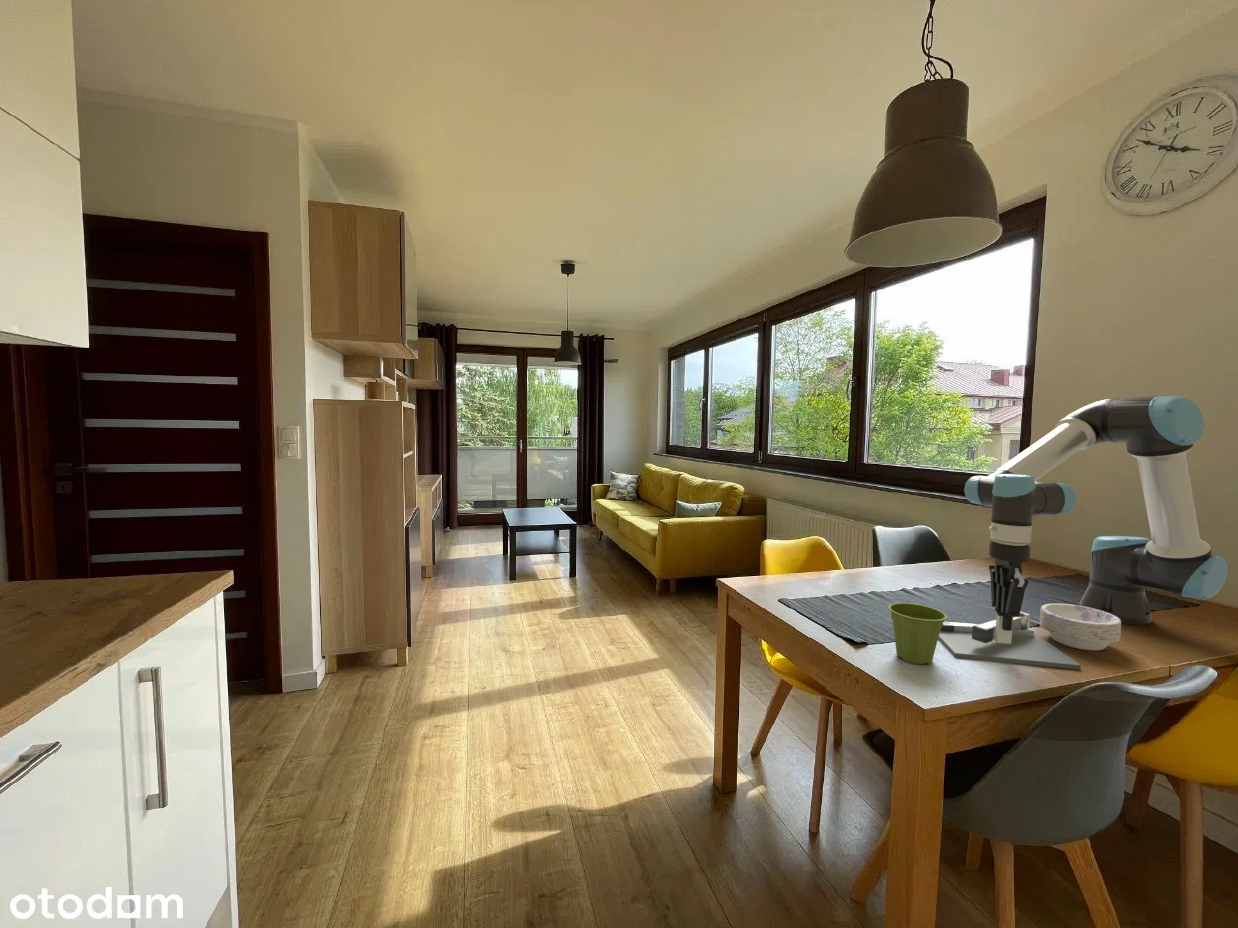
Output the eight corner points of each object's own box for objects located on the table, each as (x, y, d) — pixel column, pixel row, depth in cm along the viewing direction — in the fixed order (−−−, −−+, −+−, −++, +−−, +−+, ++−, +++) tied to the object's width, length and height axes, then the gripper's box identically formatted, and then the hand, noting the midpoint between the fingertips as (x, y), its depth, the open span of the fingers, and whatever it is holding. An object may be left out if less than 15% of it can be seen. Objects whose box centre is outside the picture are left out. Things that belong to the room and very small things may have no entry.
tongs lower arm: (1027, 632, 135) (1028, 626, 135) (1034, 637, 132) (1035, 630, 132) (935, 626, 138) (935, 620, 138) (940, 630, 135) (940, 624, 135)
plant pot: (954, 672, 114) (957, 622, 114) (895, 667, 117) (898, 617, 116) (931, 649, 126) (934, 604, 125) (879, 645, 128) (881, 600, 127)
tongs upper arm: (1016, 622, 137) (1017, 609, 137) (1032, 627, 134) (1033, 613, 133) (970, 638, 126) (971, 623, 126) (986, 643, 123) (987, 628, 123)
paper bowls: (1024, 636, 135) (1026, 606, 135) (1060, 628, 141) (1063, 599, 140) (1096, 660, 121) (1099, 627, 121) (1133, 651, 127) (1136, 619, 126)
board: (1029, 633, 137) (1030, 629, 137) (1080, 669, 117) (1080, 665, 116) (924, 624, 143) (924, 620, 142) (955, 657, 122) (955, 652, 122)
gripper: (978, 535, 127) (972, 629, 129) (1005, 547, 114) (998, 651, 116) (1013, 537, 125) (1007, 632, 127) (1044, 549, 113) (1037, 655, 114)
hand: (1002, 641), depth 122 cm, fingers closed
